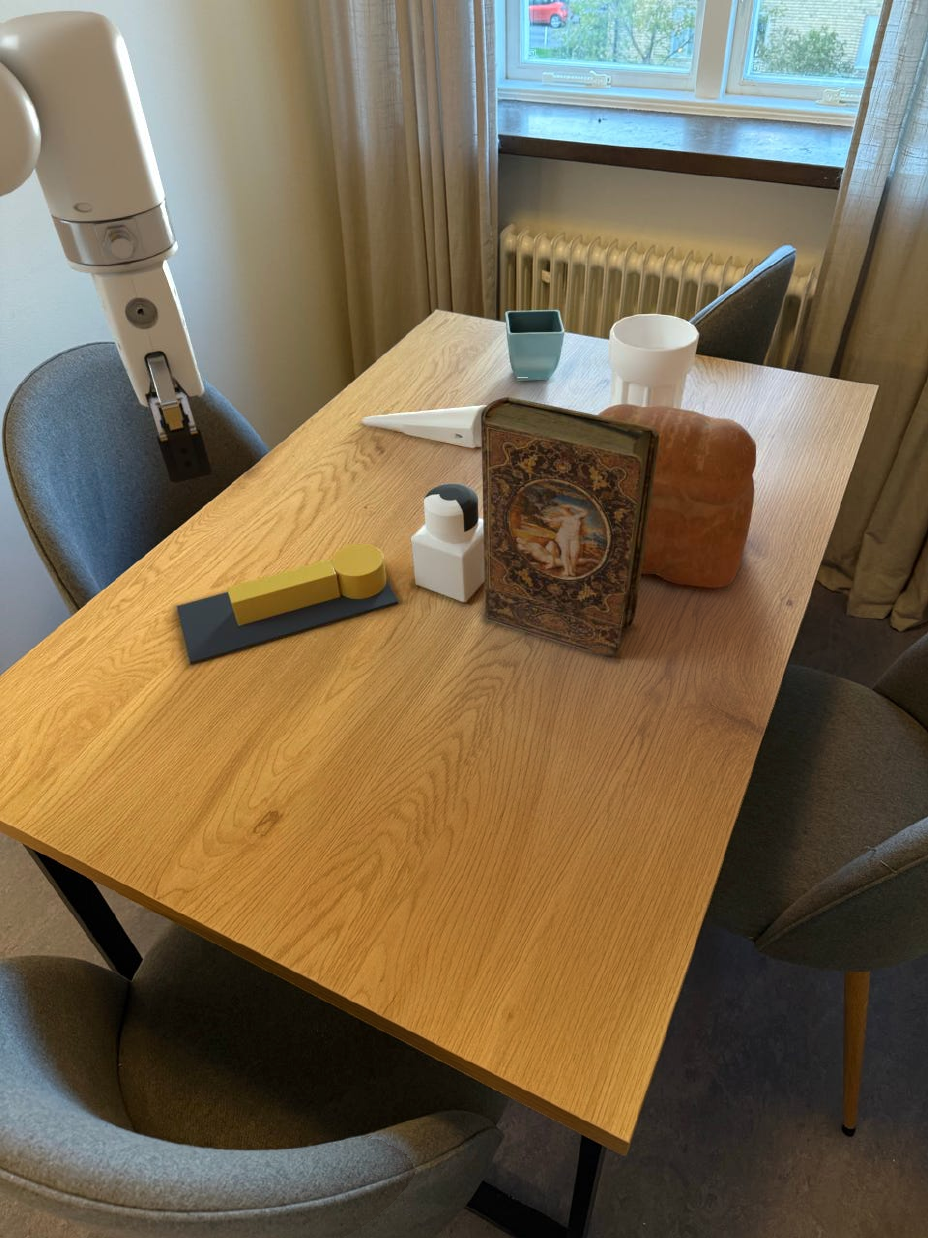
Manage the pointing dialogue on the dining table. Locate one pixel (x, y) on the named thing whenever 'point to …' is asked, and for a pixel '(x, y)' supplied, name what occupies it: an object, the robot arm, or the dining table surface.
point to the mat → (262, 622)
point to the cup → (651, 360)
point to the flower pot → (534, 343)
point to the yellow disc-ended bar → (311, 584)
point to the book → (564, 520)
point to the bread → (696, 494)
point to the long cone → (436, 424)
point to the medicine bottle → (450, 543)
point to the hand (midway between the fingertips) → (182, 447)
